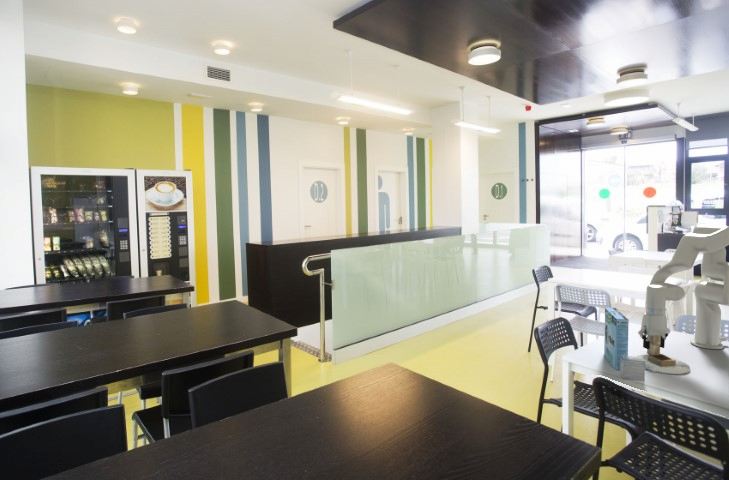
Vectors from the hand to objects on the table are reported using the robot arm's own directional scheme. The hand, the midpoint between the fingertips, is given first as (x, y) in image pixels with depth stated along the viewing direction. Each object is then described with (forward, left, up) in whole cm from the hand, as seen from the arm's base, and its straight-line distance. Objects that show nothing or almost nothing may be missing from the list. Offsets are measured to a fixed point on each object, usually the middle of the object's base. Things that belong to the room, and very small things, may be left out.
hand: (653, 347), depth 196 cm
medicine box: (+30, +22, -3) cm, 37 cm away
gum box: (+25, +6, -3) cm, 26 cm away
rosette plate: (+8, +13, -3) cm, 16 cm away
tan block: (0, 0, -3) cm, 3 cm away
